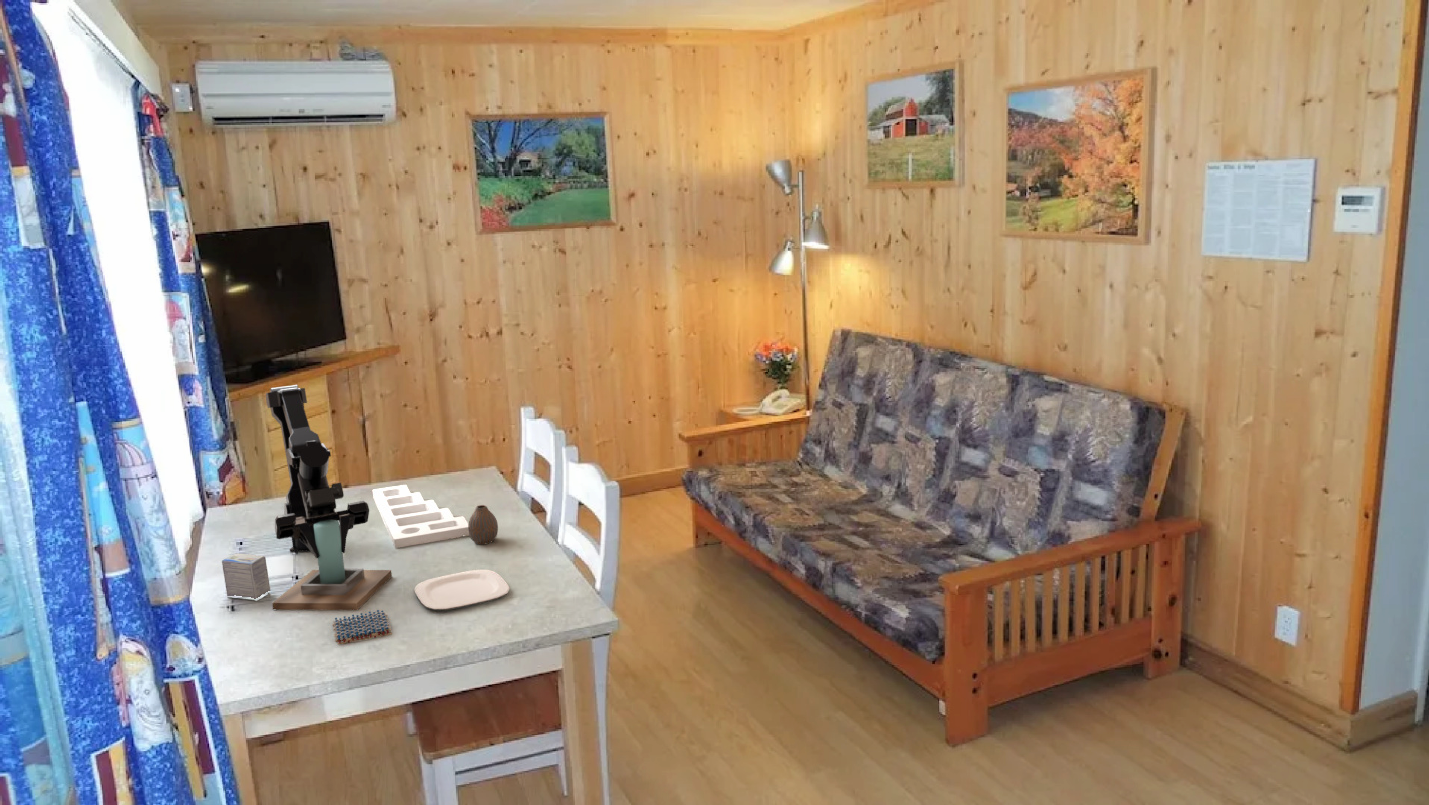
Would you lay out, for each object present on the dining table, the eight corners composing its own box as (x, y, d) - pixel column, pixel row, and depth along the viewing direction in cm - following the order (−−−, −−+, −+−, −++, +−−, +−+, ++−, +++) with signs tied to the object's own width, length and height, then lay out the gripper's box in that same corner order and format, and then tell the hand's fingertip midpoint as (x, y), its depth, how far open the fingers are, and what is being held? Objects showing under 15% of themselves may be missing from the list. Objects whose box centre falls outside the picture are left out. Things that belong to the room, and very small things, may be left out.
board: (273, 609, 216) (270, 593, 215) (313, 576, 234) (311, 561, 233) (357, 610, 214) (355, 594, 214) (391, 576, 232) (390, 561, 231)
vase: (492, 547, 248) (489, 511, 246) (464, 546, 249) (461, 510, 247) (503, 537, 254) (500, 502, 252) (476, 536, 256) (473, 501, 254)
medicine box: (271, 593, 225) (266, 555, 223) (256, 602, 221) (251, 563, 219) (242, 590, 227) (236, 552, 225) (226, 598, 223) (220, 559, 221)
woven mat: (335, 648, 199) (334, 638, 198) (332, 627, 208) (331, 617, 208) (393, 637, 202) (392, 627, 202) (387, 617, 212) (386, 607, 212)
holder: (373, 499, 290) (372, 489, 289) (439, 488, 297) (438, 479, 296) (395, 550, 250) (393, 539, 249) (471, 537, 257) (470, 526, 256)
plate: (429, 620, 209) (428, 612, 209) (409, 589, 225) (408, 582, 225) (517, 600, 218) (516, 592, 217) (492, 572, 233) (491, 565, 233)
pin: (316, 583, 223) (308, 525, 220) (337, 575, 227) (330, 518, 224) (328, 588, 220) (321, 529, 217) (350, 580, 224) (343, 522, 221)
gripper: (269, 479, 217) (284, 546, 210) (362, 464, 226) (379, 527, 219) (269, 506, 226) (283, 570, 219) (359, 490, 235) (375, 552, 228)
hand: (330, 554), depth 221 cm, fingers closed on pin, 5 cm apart
